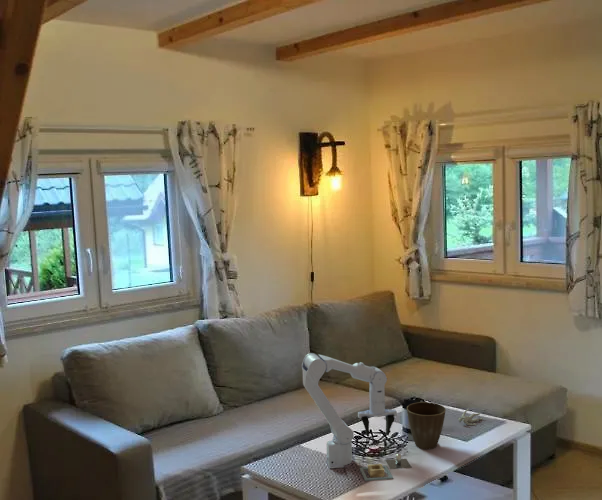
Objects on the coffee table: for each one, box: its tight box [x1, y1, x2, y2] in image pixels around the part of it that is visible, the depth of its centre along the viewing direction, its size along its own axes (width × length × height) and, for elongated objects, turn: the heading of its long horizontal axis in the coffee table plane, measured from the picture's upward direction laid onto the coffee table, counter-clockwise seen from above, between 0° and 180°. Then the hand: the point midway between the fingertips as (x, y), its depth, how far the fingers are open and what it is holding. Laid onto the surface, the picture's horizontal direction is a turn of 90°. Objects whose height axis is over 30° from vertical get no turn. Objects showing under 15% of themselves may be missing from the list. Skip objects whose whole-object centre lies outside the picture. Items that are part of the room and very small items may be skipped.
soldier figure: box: [457, 408, 483, 426], centre depth 304 cm, size 8×5×12 cm
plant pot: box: [406, 401, 446, 450], centre depth 278 cm, size 15×15×16 cm
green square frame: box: [359, 465, 394, 482], centre depth 255 cm, size 10×10×2 cm
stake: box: [385, 453, 413, 470], centre depth 262 cm, size 8×8×4 cm
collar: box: [367, 463, 385, 478], centre depth 254 cm, size 5×5×3 cm
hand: (377, 434), depth 269 cm, fingers open, 7 cm apart
